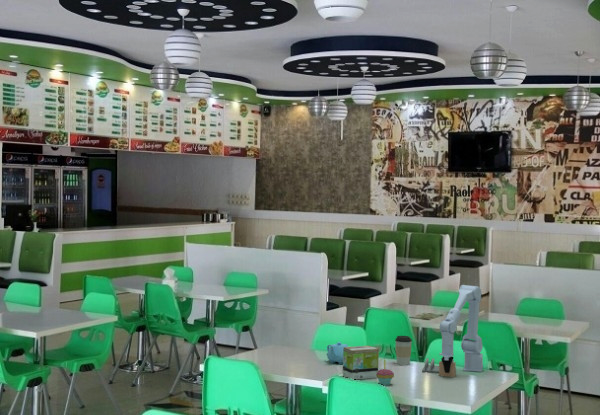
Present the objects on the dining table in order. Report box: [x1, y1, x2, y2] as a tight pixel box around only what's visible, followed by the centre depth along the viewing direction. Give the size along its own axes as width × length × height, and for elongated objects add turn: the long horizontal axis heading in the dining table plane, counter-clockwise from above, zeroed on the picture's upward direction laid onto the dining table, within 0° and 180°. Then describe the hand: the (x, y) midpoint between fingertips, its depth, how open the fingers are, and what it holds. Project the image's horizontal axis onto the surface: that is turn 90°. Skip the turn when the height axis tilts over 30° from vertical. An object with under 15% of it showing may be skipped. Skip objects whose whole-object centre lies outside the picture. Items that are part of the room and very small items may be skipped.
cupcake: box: [376, 359, 395, 386], centre depth 370 cm, size 9×8×12 cm
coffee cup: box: [394, 335, 413, 366], centre depth 418 cm, size 9×9×15 cm
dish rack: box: [421, 357, 455, 374], centre depth 402 cm, size 16×14×5 cm
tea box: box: [342, 345, 380, 380], centre depth 384 cm, size 15×10×15 cm, turn 117°
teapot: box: [326, 341, 349, 365], centre depth 419 cm, size 13×14×11 cm
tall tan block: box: [438, 360, 457, 378], centre depth 389 cm, size 8×2×7 cm, turn 75°
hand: (447, 372), depth 389 cm, fingers open, 3 cm apart
